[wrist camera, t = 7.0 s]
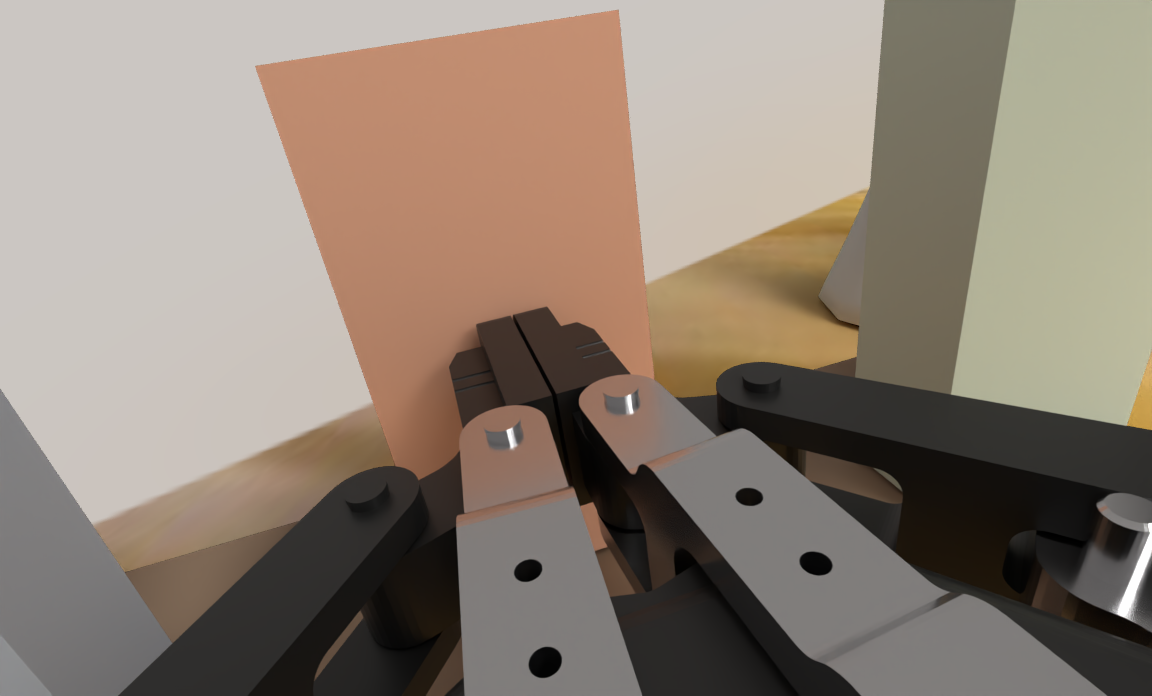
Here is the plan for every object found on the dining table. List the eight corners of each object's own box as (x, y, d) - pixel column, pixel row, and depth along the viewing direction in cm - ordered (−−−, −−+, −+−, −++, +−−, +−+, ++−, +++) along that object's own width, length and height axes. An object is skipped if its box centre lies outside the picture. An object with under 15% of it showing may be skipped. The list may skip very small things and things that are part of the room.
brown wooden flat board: (922, 376, 24) (928, 335, 23) (1348, 619, 13) (1386, 560, 12) (4, 660, 18) (-33, 618, 17) (-541, 1514, 7) (-709, 1515, 6)
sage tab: (1016, 394, 19) (1119, -68, 13) (1119, 446, 16) (1299, -100, 11) (849, 448, 18) (887, -32, 12) (930, 514, 15) (1025, -58, 10)
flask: (895, 356, 25) (924, 104, 21) (791, 299, 32) (796, 96, 27) (1032, 314, 27) (1086, 70, 22) (906, 268, 33) (929, 70, 29)
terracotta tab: (628, 461, 19) (570, 21, 13) (669, 526, 16) (618, 9, 10) (433, 521, 17) (282, 66, 12) (443, 601, 15) (254, 65, 9)
